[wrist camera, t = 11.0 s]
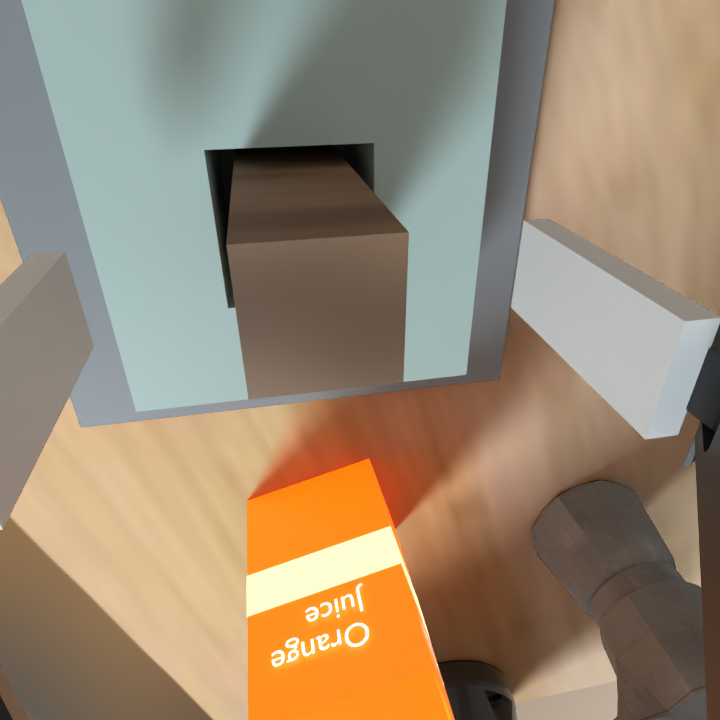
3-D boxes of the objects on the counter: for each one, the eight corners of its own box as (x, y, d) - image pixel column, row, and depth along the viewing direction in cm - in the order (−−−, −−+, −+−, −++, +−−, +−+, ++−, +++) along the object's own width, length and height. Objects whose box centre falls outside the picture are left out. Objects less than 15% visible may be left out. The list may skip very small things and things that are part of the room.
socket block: (489, 366, 34) (551, 447, 27) (87, 411, 30) (42, 518, 23) (557, -141, 21) (701, -227, 15) (-108, -171, 18) (-324, -303, 11)
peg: (330, 227, 26) (403, 382, 14) (246, 232, 25) (248, 399, 13) (326, 139, 24) (409, 232, 12) (235, 142, 23) (226, 244, 11)
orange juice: (396, 529, 40) (508, 887, 23) (284, 568, 40) (314, 957, 23) (369, 455, 36) (482, 826, 19) (244, 499, 36) (244, 911, 19)
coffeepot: (495, 567, 44) (626, 840, 29) (520, 483, 40) (691, 755, 25) (656, 549, 47) (851, 787, 32) (697, 468, 43) (947, 703, 28)
